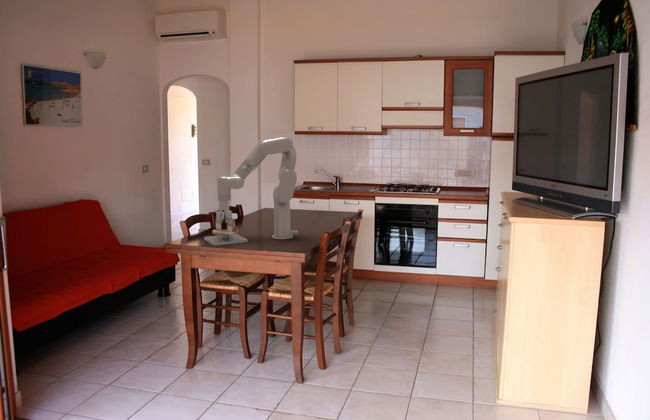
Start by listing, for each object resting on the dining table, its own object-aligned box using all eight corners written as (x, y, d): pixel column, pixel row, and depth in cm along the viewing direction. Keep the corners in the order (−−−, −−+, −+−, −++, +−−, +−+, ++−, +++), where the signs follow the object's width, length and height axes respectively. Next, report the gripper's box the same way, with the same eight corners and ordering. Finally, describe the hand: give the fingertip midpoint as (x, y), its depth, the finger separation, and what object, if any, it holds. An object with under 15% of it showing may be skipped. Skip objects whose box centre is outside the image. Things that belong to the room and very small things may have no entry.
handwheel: (219, 234, 336) (218, 216, 334) (242, 235, 332) (242, 217, 331) (208, 239, 322) (207, 220, 320) (232, 240, 318) (231, 221, 316)
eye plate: (236, 236, 340) (236, 233, 340) (247, 242, 323) (247, 239, 323) (204, 239, 331) (204, 236, 331) (213, 245, 314) (213, 242, 314)
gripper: (219, 195, 332) (220, 226, 334) (215, 199, 315) (216, 231, 318) (232, 195, 332) (233, 226, 335) (228, 199, 315) (229, 231, 318)
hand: (224, 228), depth 326 cm, fingers closed on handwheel, 5 cm apart
